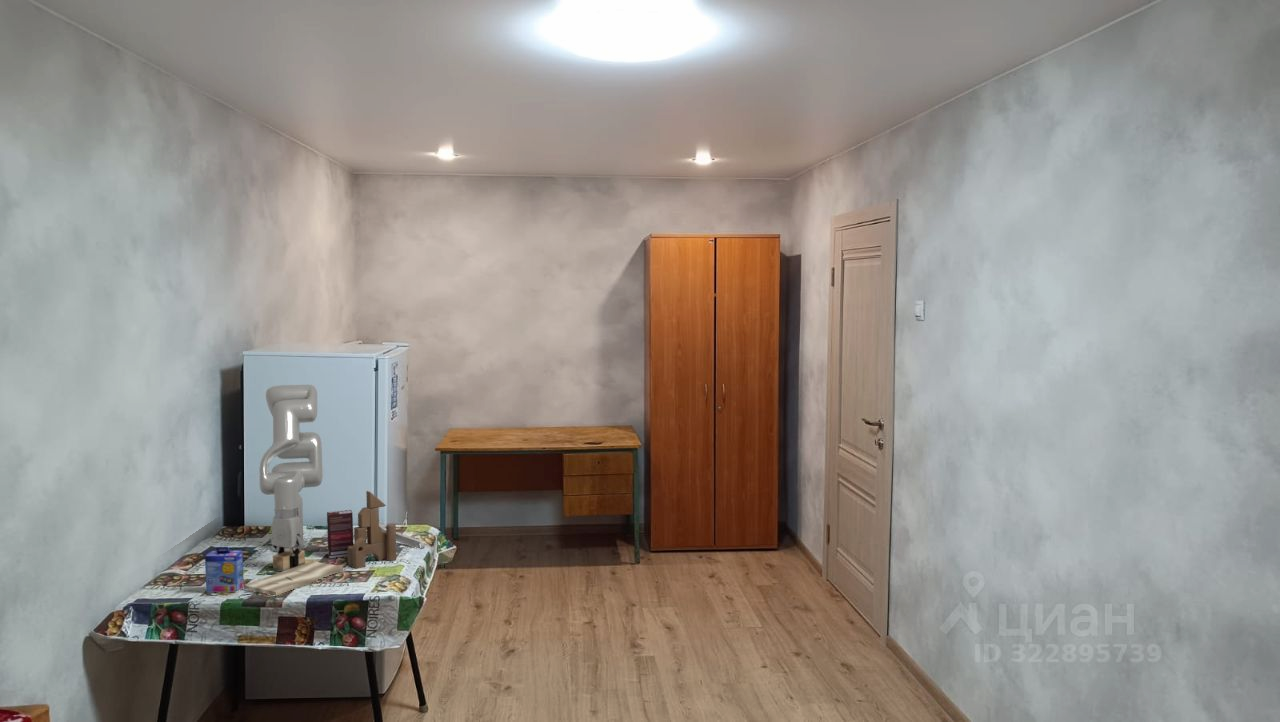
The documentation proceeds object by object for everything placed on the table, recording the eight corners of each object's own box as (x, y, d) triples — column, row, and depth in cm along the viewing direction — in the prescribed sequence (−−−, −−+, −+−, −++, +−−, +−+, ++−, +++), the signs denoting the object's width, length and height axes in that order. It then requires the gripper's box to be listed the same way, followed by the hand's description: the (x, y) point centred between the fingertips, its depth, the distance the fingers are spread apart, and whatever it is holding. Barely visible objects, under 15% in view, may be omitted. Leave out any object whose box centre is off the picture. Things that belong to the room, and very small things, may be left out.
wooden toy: (355, 569, 295) (354, 496, 294) (347, 564, 300) (346, 493, 299) (397, 560, 306) (396, 490, 304) (389, 556, 311) (388, 487, 309)
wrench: (420, 557, 319) (363, 536, 334) (424, 556, 321) (366, 535, 335) (422, 536, 318) (364, 516, 333) (426, 535, 320) (368, 515, 334)
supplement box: (352, 552, 315) (351, 509, 314) (353, 556, 310) (353, 512, 309) (327, 555, 311) (326, 511, 310) (328, 558, 307) (327, 514, 306)
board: (244, 589, 274) (244, 585, 274) (312, 565, 299) (312, 561, 299) (276, 596, 268) (275, 591, 268) (343, 571, 293) (343, 566, 293)
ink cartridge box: (205, 593, 270) (203, 548, 269) (212, 588, 276) (210, 543, 275) (237, 593, 271) (236, 547, 270) (244, 587, 277) (243, 542, 276)
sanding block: (273, 570, 294) (272, 555, 293) (294, 562, 302) (294, 548, 301) (283, 572, 292) (283, 557, 291) (305, 564, 300) (304, 550, 299)
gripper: (259, 512, 295) (261, 564, 297) (296, 518, 288) (297, 572, 289) (277, 507, 302) (279, 558, 303) (313, 513, 294) (315, 565, 296)
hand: (288, 564), depth 296 cm, fingers closed on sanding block, 5 cm apart
